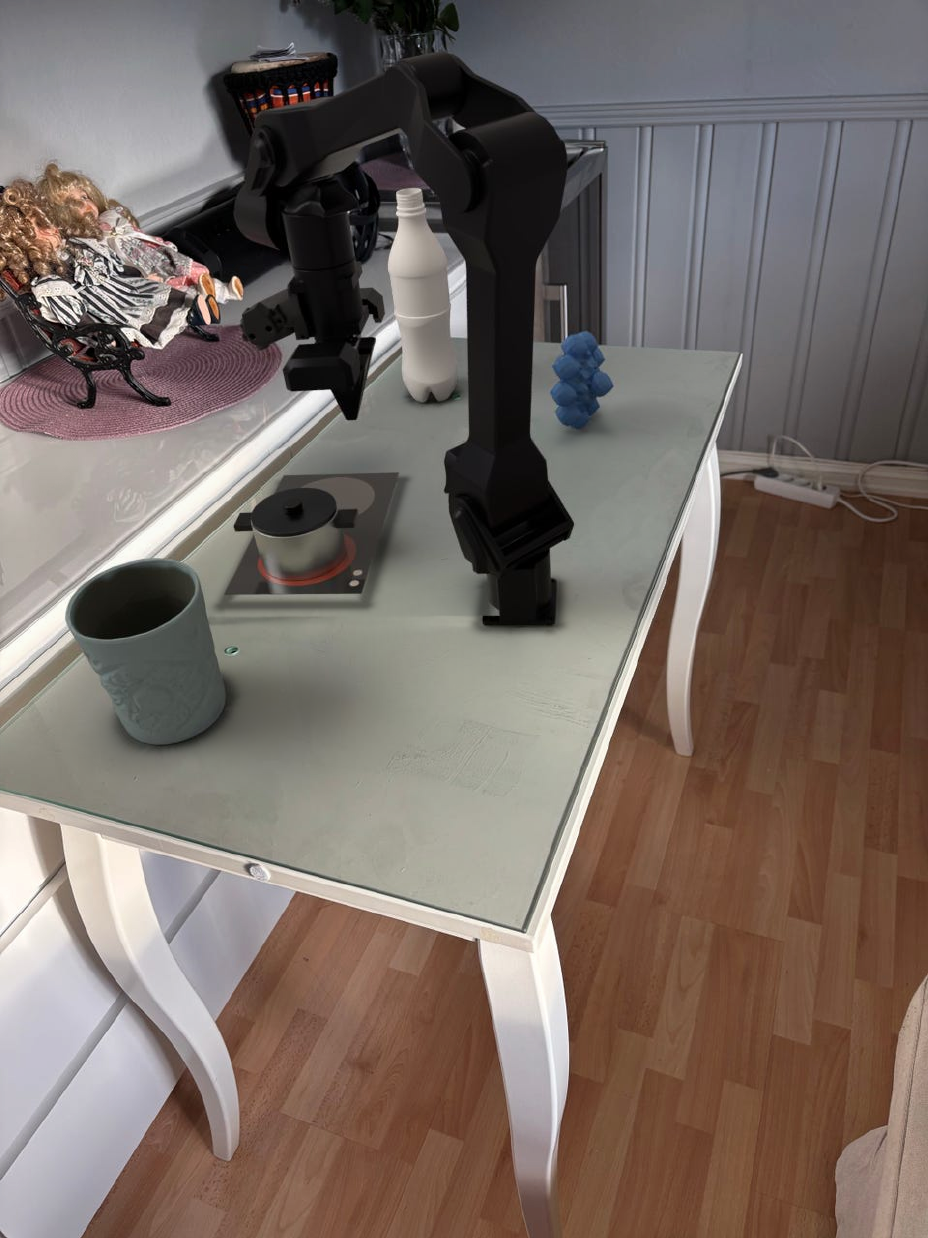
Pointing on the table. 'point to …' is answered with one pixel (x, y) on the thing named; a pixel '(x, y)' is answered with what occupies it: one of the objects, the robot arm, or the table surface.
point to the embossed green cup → (151, 647)
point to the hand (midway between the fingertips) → (352, 418)
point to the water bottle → (421, 302)
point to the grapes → (579, 380)
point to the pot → (298, 532)
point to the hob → (361, 541)
